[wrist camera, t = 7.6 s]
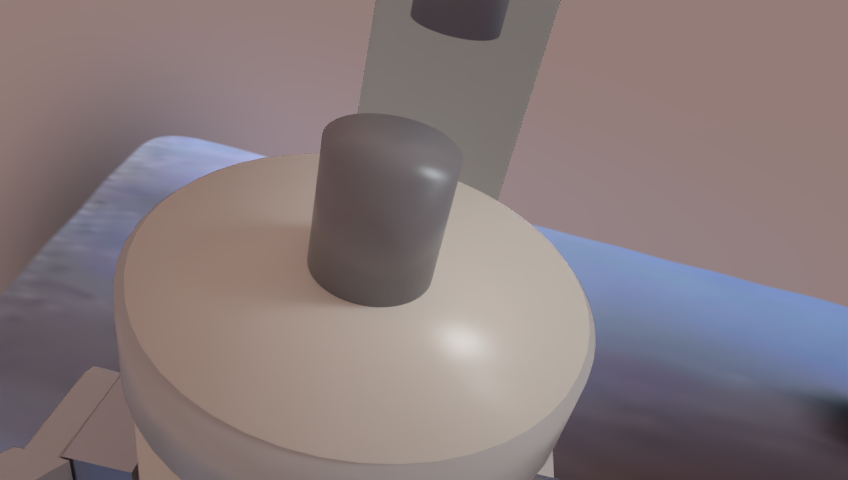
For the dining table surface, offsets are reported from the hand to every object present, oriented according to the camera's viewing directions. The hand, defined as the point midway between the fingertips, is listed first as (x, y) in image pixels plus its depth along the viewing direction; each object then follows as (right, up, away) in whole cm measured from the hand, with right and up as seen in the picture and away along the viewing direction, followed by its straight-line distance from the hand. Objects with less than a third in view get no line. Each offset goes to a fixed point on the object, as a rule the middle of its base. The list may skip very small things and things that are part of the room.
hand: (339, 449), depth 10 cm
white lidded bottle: (-1, -5, +2) cm, 6 cm away
